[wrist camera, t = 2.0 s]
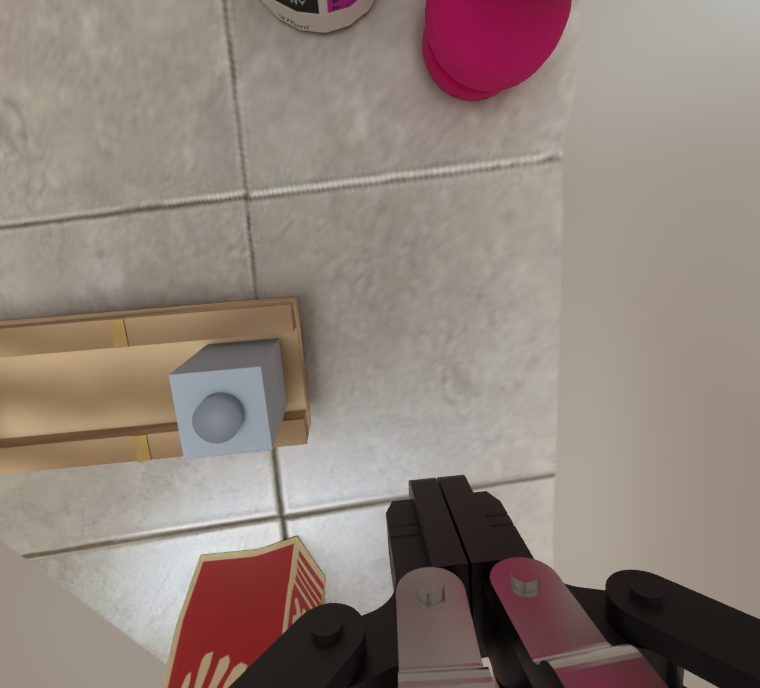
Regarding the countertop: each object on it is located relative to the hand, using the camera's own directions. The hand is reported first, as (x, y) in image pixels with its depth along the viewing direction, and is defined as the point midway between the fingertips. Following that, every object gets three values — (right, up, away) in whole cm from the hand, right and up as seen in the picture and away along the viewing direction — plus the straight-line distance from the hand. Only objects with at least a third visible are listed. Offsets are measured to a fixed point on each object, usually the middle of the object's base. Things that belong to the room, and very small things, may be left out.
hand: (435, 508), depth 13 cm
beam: (-16, +3, +19) cm, 25 cm away
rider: (-9, +3, +14) cm, 17 cm away
